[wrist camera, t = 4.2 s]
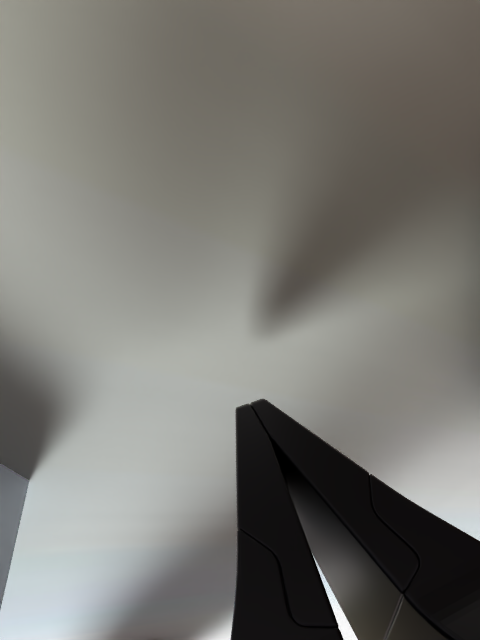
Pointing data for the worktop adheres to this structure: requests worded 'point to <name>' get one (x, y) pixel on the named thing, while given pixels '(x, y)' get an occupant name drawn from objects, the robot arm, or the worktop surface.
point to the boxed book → (9, 518)
